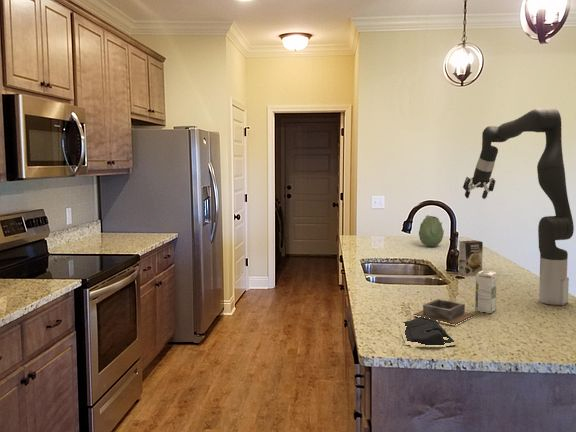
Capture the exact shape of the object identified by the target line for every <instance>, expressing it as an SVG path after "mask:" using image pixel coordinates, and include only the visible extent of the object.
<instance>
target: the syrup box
mask: <svg viewBox="0 0 576 432" xmlns="http://www.w3.org/2000/svg"><path fill="white" fill-rule="evenodd" d="M497 275H498V273H497V272H496V271H492V270H482V271H480V272H478V273H477V274H476V275H475V300H474V301H475V302H474V303H475V306H474V311H475V312H476V311H480V312H479V313H482V312H486V313H485V314H489V313H491V314H492V313H494V312H495V311H496V308H497V284H498V283H497V281H498V276H497ZM493 311H494V312H493Z"/></svg>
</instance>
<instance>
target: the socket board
mask: <svg viewBox="0 0 576 432" xmlns="http://www.w3.org/2000/svg"><path fill="white" fill-rule="evenodd" d="M465 306H466V305H465V303H461V302H456V301H453V300H452V301H451V300H445V299H440V298H438V299H434V300H432V301H429V302H428V303H425V304H422V308H423V309H422V310H420V311H418V312H416V313H414V314H413V316H414V315H417V316H421V317H425V318H430V319H434V320H438V321H443V322H447V323H450V324H455V325H456V324H458V323H460V322H462V321H464V320H466V319H468V318H471V317H473V316H475V313H472V312H466V309H465V308H466V307H465ZM475 317H476V316H475ZM473 318H474V317H473ZM471 319H472V318H471Z"/></svg>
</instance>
